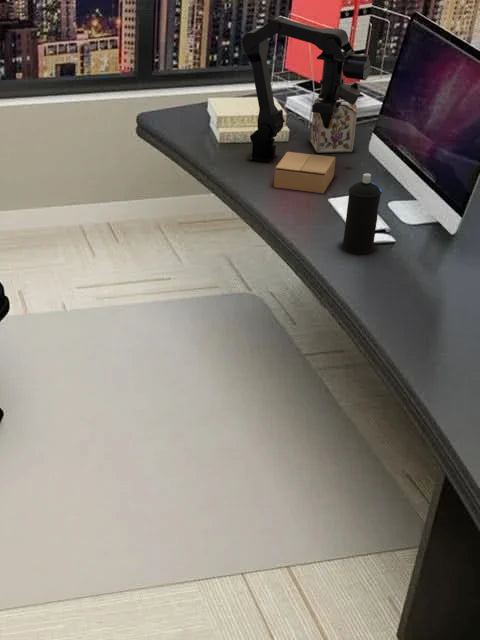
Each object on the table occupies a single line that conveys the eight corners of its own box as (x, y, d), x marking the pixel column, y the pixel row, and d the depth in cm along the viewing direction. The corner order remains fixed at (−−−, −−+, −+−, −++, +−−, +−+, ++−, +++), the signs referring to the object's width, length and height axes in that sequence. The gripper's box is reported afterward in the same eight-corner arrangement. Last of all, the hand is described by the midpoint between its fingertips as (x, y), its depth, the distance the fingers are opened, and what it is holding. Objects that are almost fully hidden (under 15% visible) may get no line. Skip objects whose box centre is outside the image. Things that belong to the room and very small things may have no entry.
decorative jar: (353, 152, 318) (359, 96, 308) (316, 154, 318) (321, 97, 308) (345, 139, 328) (351, 85, 318) (309, 141, 328) (314, 86, 318)
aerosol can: (355, 257, 257) (365, 183, 245) (335, 245, 263) (343, 172, 251) (380, 249, 260) (391, 176, 248) (359, 238, 266) (368, 166, 254)
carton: (273, 187, 297) (275, 167, 294) (285, 170, 307) (287, 151, 304) (323, 193, 292) (325, 173, 288) (333, 176, 302) (335, 156, 299)
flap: (275, 168, 294) (275, 167, 294) (287, 152, 304) (287, 151, 304) (299, 171, 291) (299, 170, 291) (310, 155, 302) (311, 154, 301)
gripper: (352, 87, 281) (346, 141, 290) (366, 69, 295) (360, 121, 304) (313, 83, 286) (308, 136, 294) (329, 66, 299) (324, 117, 308)
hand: (326, 128), depth 300 cm, fingers closed
